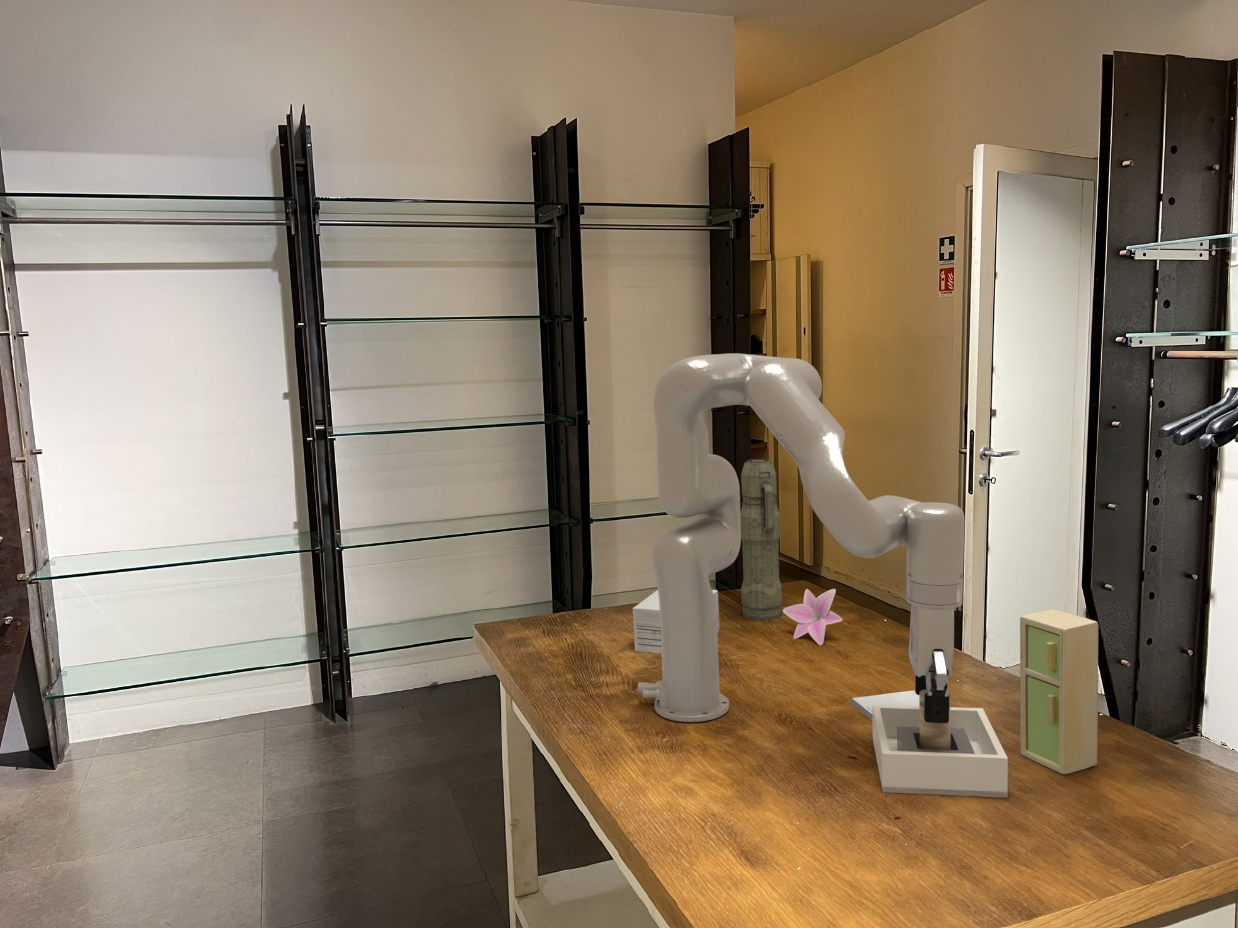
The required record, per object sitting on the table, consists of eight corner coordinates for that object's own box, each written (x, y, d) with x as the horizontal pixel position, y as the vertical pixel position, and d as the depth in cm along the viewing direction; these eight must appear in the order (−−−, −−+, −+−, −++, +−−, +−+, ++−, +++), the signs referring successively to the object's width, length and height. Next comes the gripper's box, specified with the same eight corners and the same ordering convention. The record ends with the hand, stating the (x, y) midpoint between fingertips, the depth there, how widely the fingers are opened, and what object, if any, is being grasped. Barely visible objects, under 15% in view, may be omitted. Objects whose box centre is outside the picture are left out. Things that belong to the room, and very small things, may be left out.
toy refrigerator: (1014, 755, 137) (1015, 615, 134) (1051, 744, 140) (1053, 607, 137) (1059, 777, 129) (1062, 630, 127) (1097, 765, 132) (1101, 621, 130)
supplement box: (662, 627, 206) (661, 585, 204) (720, 632, 200) (718, 589, 199) (633, 651, 190) (631, 606, 189) (694, 657, 185) (692, 611, 184)
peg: (921, 767, 132) (921, 699, 131) (917, 754, 137) (917, 688, 135) (952, 768, 132) (952, 700, 130) (948, 755, 136) (948, 688, 134)
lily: (780, 634, 200) (771, 602, 195) (824, 606, 203) (817, 574, 198) (814, 666, 190) (806, 633, 185) (860, 636, 193) (853, 603, 188)
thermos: (758, 624, 204) (754, 465, 199) (732, 610, 215) (727, 459, 210) (793, 618, 207) (790, 461, 203) (765, 605, 218) (761, 456, 213)
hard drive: (873, 715, 150) (943, 705, 153) (850, 697, 158) (916, 687, 161) (873, 725, 151) (943, 715, 153) (850, 706, 159) (916, 697, 161)
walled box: (882, 791, 127) (882, 753, 127) (872, 739, 144) (872, 705, 143) (1007, 797, 124) (1007, 758, 124) (982, 743, 141) (982, 708, 140)
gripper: (899, 574, 140) (897, 683, 143) (913, 608, 123) (911, 732, 126) (952, 575, 139) (949, 686, 141) (973, 610, 122) (969, 735, 124)
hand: (931, 707), depth 133 cm, fingers open, 9 cm apart
